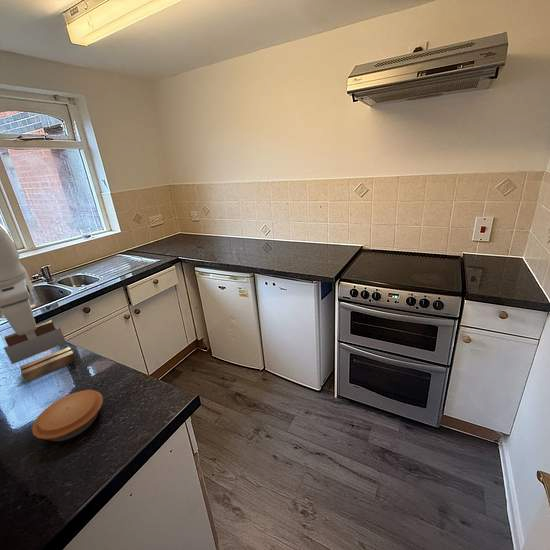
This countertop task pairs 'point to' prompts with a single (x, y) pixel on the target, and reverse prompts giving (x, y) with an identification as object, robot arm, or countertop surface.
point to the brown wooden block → (33, 342)
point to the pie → (68, 416)
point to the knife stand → (47, 364)
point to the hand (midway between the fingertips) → (32, 336)
